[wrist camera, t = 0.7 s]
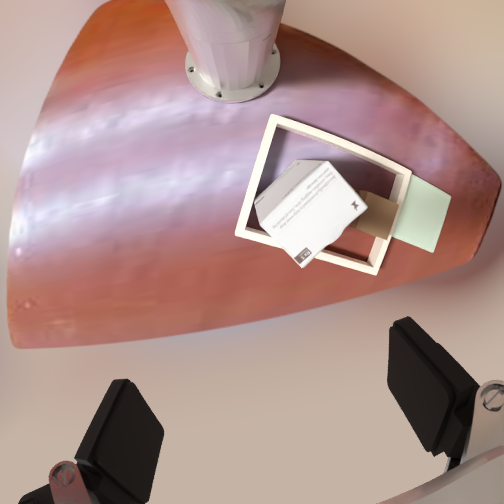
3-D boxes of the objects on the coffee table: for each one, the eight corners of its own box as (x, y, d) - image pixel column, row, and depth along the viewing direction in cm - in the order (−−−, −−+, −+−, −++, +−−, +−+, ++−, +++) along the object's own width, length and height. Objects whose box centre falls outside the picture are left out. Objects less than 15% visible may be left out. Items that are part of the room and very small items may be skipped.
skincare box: (295, 158, 36) (329, 152, 21) (325, 191, 37) (373, 205, 23) (250, 202, 37) (255, 222, 23) (281, 233, 38) (304, 271, 24)
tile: (405, 171, 36) (408, 172, 35) (448, 195, 37) (451, 196, 37) (385, 233, 39) (388, 235, 38) (430, 251, 40) (432, 252, 39)
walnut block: (353, 188, 37) (368, 191, 32) (382, 200, 38) (399, 204, 33) (342, 221, 38) (355, 229, 33) (371, 232, 39) (386, 240, 34)
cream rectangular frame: (269, 117, 34) (271, 113, 31) (403, 170, 36) (411, 171, 34) (235, 231, 38) (234, 235, 36) (369, 269, 40) (376, 275, 38)
